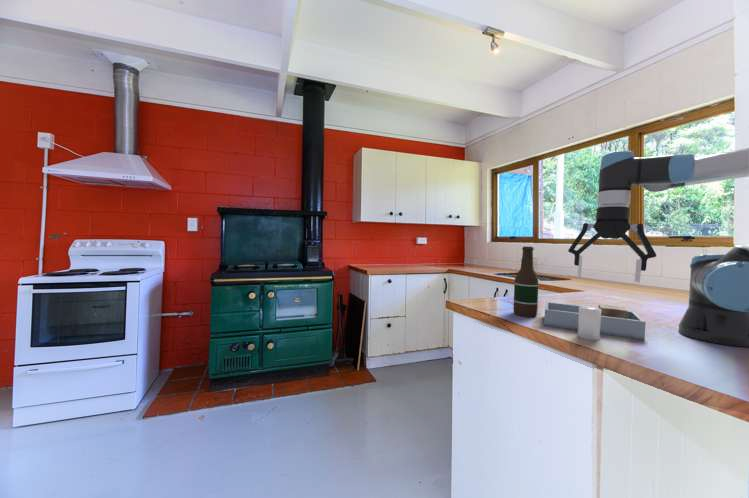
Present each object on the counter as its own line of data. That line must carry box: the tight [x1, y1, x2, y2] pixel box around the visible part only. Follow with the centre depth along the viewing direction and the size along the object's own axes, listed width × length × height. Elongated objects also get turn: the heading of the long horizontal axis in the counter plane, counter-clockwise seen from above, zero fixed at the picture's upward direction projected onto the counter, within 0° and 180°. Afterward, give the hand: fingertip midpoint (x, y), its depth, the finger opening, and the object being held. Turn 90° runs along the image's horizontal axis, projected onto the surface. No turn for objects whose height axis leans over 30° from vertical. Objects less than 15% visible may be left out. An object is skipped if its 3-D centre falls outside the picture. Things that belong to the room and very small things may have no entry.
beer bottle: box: [513, 246, 539, 318], centre depth 107 cm, size 8×8×24 cm
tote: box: [543, 301, 646, 341], centre depth 93 cm, size 24×14×5 cm, turn 59°
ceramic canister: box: [577, 305, 601, 341], centre depth 83 cm, size 5×5×8 cm
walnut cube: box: [598, 303, 628, 319], centre depth 91 cm, size 6×6×6 cm
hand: (606, 279), depth 89 cm, fingers open, 13 cm apart
